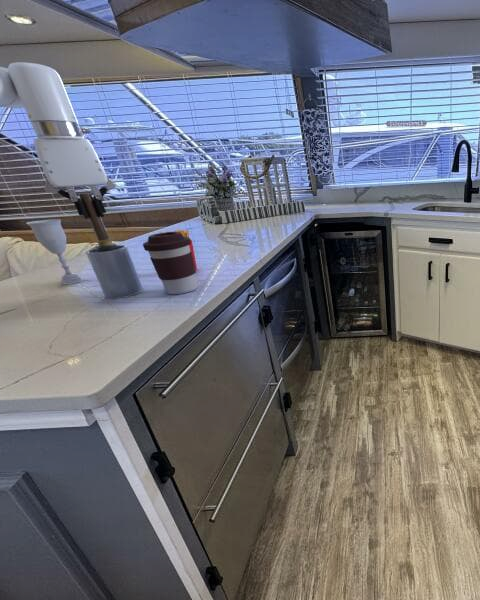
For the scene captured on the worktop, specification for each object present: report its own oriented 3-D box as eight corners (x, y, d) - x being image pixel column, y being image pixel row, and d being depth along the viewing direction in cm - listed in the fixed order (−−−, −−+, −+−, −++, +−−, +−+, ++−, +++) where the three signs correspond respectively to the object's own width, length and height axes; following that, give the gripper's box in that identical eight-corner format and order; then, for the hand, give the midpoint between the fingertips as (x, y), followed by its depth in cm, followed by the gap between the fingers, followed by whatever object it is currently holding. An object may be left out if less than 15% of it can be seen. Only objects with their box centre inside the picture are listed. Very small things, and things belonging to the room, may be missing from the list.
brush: (105, 267, 80) (73, 194, 73) (102, 264, 83) (72, 193, 76) (124, 263, 83) (96, 192, 76) (122, 261, 85) (94, 192, 78)
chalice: (50, 284, 95) (19, 223, 87) (77, 277, 101) (50, 219, 93) (67, 286, 93) (36, 223, 85) (93, 278, 98) (67, 219, 91)
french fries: (197, 267, 106) (185, 227, 101) (201, 269, 103) (189, 229, 98) (164, 274, 100) (150, 232, 95) (168, 277, 97) (153, 234, 92)
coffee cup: (175, 284, 90) (157, 231, 84) (210, 282, 91) (195, 229, 85) (151, 298, 81) (130, 239, 75) (191, 296, 81) (172, 237, 76)
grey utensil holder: (107, 301, 81) (87, 254, 76) (103, 293, 86) (84, 249, 81) (145, 291, 86) (129, 247, 81) (139, 285, 91) (123, 243, 86)
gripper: (103, 134, 78) (132, 211, 86) (6, 133, 68) (48, 221, 75) (108, 131, 74) (137, 213, 81) (3, 129, 63) (48, 224, 70)
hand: (94, 216), depth 78 cm, fingers closed on brush, 2 cm apart
